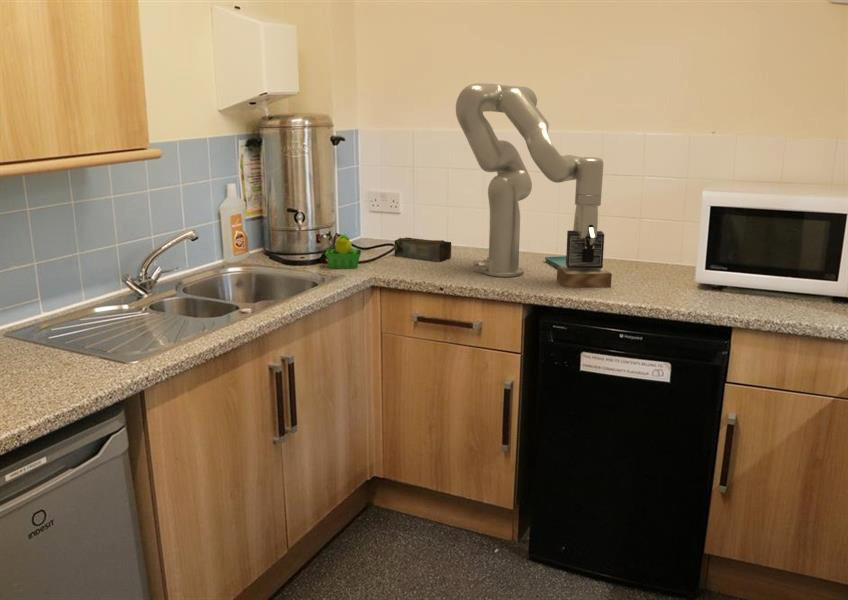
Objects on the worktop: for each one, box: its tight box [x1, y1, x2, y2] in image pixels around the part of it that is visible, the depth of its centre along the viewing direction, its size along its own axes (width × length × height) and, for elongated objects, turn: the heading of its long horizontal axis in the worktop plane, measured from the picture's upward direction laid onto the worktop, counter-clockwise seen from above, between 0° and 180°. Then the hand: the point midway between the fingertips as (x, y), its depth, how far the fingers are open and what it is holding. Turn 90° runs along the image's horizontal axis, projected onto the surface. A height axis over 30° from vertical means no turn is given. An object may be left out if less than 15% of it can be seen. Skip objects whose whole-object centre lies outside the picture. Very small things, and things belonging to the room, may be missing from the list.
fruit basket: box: [325, 234, 362, 269], centre depth 259 cm, size 11×9×11 cm
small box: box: [565, 230, 606, 269], centre depth 237 cm, size 11×6×10 cm, turn 84°
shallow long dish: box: [544, 255, 566, 269], centre depth 259 cm, size 26×9×2 cm, turn 11°
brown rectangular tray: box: [556, 266, 613, 288], centre depth 239 cm, size 14×10×4 cm
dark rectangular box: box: [393, 236, 452, 263], centre depth 275 cm, size 8×19×7 cm, turn 58°
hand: (584, 258), depth 238 cm, fingers closed on small box, 6 cm apart
